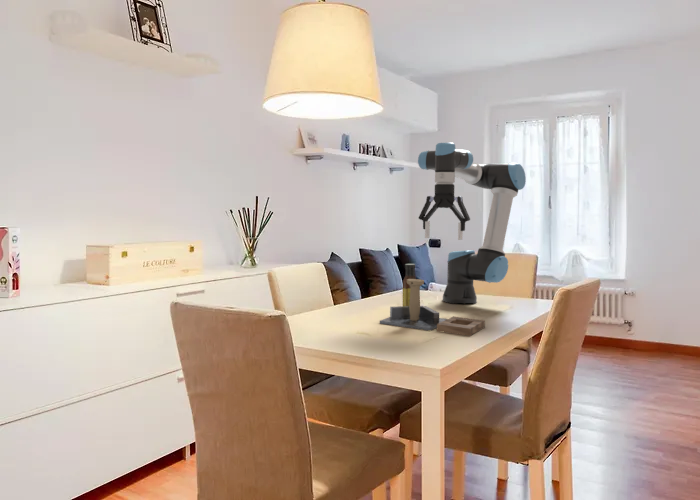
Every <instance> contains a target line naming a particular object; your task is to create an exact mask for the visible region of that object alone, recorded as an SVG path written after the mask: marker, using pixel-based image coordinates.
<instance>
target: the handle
mask: <svg viewBox="0 0 700 500" xmlns="http://www.w3.org/2000/svg"><path fill="white" fill-rule="evenodd" d="M407 284H409V285H410V287H411V291H410V305H409V311H410V320H412V321H417V320H419V314H420V306H421V295H420V294H421V292H420V290H421V289H420V288H421V286H423V285H424V284H425V280H424V279H421V278H420V279H418V278H416V279H407Z"/></svg>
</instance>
